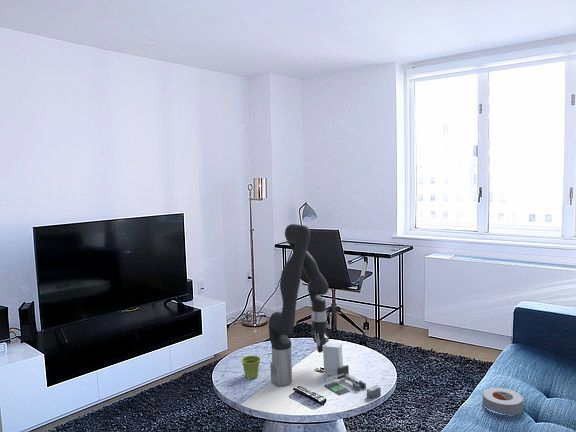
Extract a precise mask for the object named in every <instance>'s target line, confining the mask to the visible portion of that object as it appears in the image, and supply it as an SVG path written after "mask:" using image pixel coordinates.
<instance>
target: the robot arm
mask: <svg viewBox="0 0 576 432" xmlns="http://www.w3.org/2000/svg"><path fill="white" fill-rule="evenodd" d="M284 236H285V237H284V238H285V239H286V241H287V242H288V244H289V247H290V248H291V249H292V254H291V256H290V257H289V259H288V261H287V262H286V263H285V265H284V266H283V268H282V270H281V274H280V275H281V276H280V278H279V279H280V281H279V290H280V294H281V298H282V309H281V312H280V311H275V312H272V314H271V315H270V316H269V320H268V335H269V342H270V344H271V362H270V382H271V383H272V384H273V385H274V386H276V387H286V386H290V385H291V384H292V383H293V372H292V371H293V369H292V368H293V362H292V358H293V357H292V341H291V339H290V338H289V337H288V335H290V334H291V333H292V331H293V330H294V327H295V319H296V309H297V300H298V295H299V290H300V284H301V283H300V282H301V279H302V273H303V272H304V275H305V277H306V279H307V280H309V282H308V284H307V291H308V295H309V298H310V301H311V327H312V331H310V334H311V336H312V339H313V341H314V342H313V343H315V345H316V349H317V353H323V346H324V345H325V343H326V342H329V340H330V337H329V336H327V333H326V332H327V331H326V329H328V324H327V323H328V320H327V319H328V318H327V305H326V304H327V303H326V302H327V301H326V299H325V298H324V297H322V296H323V295H326V294H327V293H328V292H329V283H328V281H327V279H326V278H325V277H324V275H323V274H322V273H321V272H320V269H319V266H318V264H317V262H316V259H315V258H314V257H313V256H312V255H311V253H310V252H309V251H308V248H309V243H310V239H311V230H310V228H309V227H308V225H303V224H296V223H293V224H289V225H287V226H286V228H285V230H284ZM302 271H303V272H302Z"/></svg>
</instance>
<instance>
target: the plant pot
mask: <svg viewBox="0 0 576 432" xmlns="http://www.w3.org/2000/svg"><path fill="white" fill-rule="evenodd" d="M240 361H241V364H242V366H243V371H244V372H243V373H244V377H245V378H246V379H248V378H249V380H251V379H253V380H254V379H257V378H258V377H257V376H259V367H260V362H261V357H260V356H257V355H246V356H244V357H242V358H241V360H240Z"/></svg>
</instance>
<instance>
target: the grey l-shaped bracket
mask: <svg viewBox="0 0 576 432" xmlns="http://www.w3.org/2000/svg"><path fill="white" fill-rule="evenodd" d="M349 367H350V366H349V365H348V364H347V365H343V367H340V368H337V374H338V375H336V376H330V377H327V378H325V381H330V380H333V379H336V378H337V380H342V379H345V380H346V381H349V382H350V383H352V384H353V383H354V382H355V383H356V384H358V385H361V381H362V380H361V379H358V378H356V377H354V376H352V375H351V374H349V370H350V368H349ZM360 380H361V381H360Z"/></svg>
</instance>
